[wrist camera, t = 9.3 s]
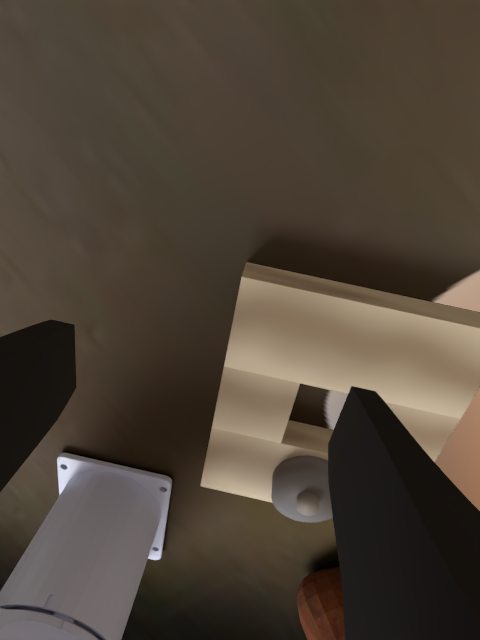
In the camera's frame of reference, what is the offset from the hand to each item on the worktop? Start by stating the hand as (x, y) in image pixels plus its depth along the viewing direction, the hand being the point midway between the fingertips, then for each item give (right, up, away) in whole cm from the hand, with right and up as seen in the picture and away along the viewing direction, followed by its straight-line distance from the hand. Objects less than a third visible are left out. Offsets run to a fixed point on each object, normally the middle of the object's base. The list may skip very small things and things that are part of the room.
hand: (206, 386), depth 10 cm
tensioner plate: (+6, -3, +12) cm, 14 cm away
